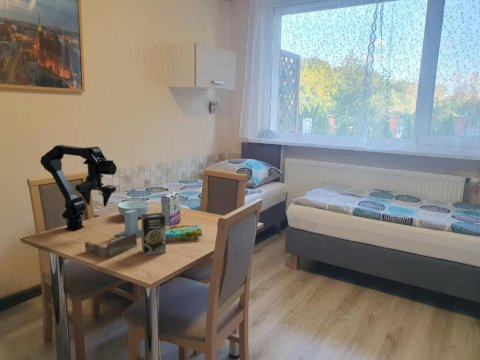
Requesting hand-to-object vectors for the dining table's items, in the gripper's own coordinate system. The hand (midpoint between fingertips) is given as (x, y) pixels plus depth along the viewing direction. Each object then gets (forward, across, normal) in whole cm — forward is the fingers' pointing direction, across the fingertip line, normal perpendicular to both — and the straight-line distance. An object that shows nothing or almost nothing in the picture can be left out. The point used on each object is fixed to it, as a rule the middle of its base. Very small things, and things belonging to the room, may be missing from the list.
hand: (96, 205), depth 171 cm
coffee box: (+13, +38, -14) cm, 43 cm away
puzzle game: (+14, +41, +5) cm, 43 cm away
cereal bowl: (+13, +3, +27) cm, 30 cm away
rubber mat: (+13, +18, +1) cm, 22 cm away
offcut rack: (+13, +19, -17) cm, 29 cm away
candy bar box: (+13, +29, +20) cm, 38 cm away
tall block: (+12, +18, +1) cm, 22 cm away
